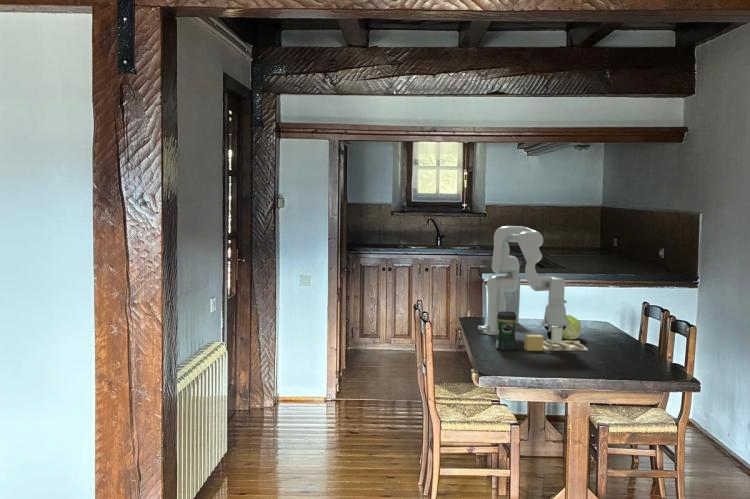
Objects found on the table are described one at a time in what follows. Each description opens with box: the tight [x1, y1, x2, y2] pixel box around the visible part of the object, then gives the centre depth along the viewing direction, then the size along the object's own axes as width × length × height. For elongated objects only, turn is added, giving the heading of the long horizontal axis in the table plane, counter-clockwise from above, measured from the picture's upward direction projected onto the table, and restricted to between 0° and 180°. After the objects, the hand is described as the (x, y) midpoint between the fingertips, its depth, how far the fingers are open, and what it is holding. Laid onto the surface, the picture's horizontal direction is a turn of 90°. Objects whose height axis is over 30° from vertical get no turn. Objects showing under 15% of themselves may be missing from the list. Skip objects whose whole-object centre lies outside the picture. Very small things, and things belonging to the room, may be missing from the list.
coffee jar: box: [495, 311, 517, 351], centre depth 374 cm, size 10×8×19 cm
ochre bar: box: [523, 334, 545, 352], centre depth 375 cm, size 8×4×7 cm, turn 96°
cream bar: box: [546, 326, 563, 343], centre depth 379 cm, size 8×4×7 cm, turn 6°
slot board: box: [543, 340, 589, 352], centre depth 381 cm, size 22×12×2 cm, turn 96°
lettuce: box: [557, 314, 582, 341], centre depth 405 cm, size 13×22×14 cm
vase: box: [503, 276, 522, 325], centre depth 450 cm, size 10×10×27 cm
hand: (554, 338), depth 379 cm, fingers closed on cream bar, 4 cm apart
